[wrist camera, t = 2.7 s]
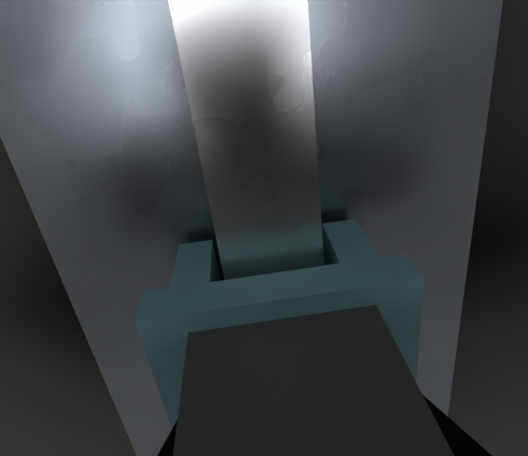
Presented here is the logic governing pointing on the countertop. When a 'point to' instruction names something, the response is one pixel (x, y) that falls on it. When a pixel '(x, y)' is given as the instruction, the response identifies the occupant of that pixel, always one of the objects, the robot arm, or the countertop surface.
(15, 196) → the countertop surface
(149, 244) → the rail base
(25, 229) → the countertop surface
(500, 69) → the countertop surface
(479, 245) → the countertop surface
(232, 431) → the carriage
